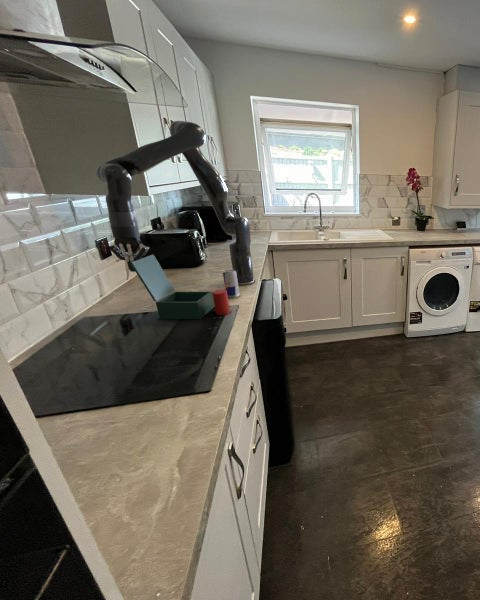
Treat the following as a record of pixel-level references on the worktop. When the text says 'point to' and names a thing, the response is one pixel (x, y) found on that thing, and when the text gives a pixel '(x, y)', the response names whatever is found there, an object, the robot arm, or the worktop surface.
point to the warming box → (185, 305)
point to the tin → (221, 302)
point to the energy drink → (231, 283)
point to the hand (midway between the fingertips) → (134, 271)
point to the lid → (152, 277)
